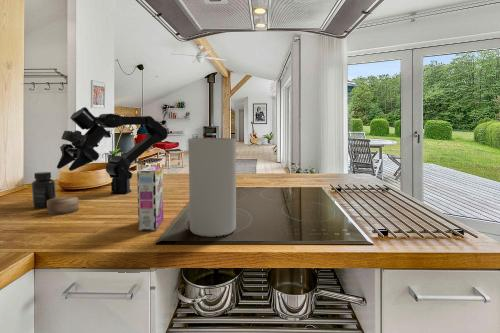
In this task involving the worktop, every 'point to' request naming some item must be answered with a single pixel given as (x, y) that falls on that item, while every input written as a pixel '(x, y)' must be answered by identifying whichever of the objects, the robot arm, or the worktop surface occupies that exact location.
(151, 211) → the candy bar box
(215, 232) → the cylinder vase
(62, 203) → the walnut plinth
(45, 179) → the supplement bottle
